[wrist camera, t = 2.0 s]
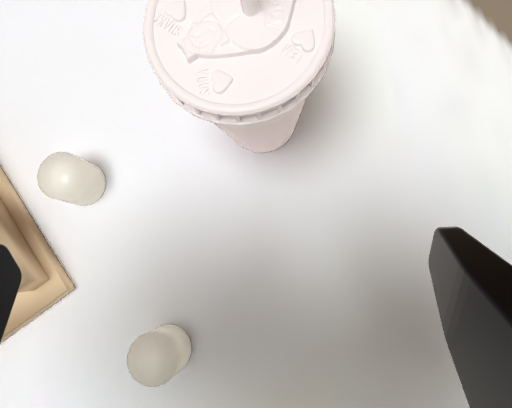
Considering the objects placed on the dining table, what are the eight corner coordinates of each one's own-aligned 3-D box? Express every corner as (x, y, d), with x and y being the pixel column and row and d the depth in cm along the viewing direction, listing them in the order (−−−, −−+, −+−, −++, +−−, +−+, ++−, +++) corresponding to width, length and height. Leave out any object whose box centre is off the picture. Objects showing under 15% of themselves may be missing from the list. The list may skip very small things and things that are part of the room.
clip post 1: (113, 188, 23) (92, 180, 21) (78, 214, 23) (52, 208, 21) (91, 154, 24) (67, 142, 21) (56, 180, 24) (28, 170, 21)
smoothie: (344, 136, 23) (417, -61, 9) (241, 200, 23) (153, 103, 9) (281, 42, 24) (256, -265, 10) (183, 103, 24) (23, -117, 10)
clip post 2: (200, 354, 22) (187, 366, 19) (162, 382, 22) (145, 397, 19) (174, 315, 22) (159, 322, 20) (137, 342, 22) (117, 352, 20)
